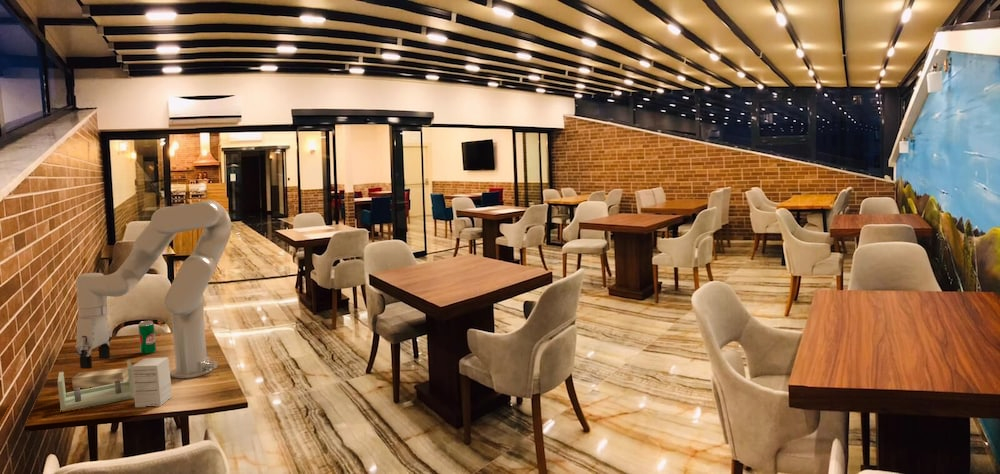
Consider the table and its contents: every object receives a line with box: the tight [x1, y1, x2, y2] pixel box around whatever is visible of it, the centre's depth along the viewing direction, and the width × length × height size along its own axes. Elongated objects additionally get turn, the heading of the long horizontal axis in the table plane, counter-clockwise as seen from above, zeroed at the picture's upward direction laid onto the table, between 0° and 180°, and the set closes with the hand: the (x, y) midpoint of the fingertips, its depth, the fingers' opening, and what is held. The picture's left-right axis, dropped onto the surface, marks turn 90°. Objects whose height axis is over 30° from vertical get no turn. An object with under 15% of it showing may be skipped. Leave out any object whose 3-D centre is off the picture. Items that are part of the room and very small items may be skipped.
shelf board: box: [71, 367, 129, 390], centre depth 183 cm, size 14×5×4 cm, turn 107°
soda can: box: [137, 320, 157, 355], centre depth 215 cm, size 5×5×12 cm
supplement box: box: [131, 356, 173, 408], centre depth 167 cm, size 7×7×13 cm
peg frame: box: [57, 359, 134, 411], centre depth 170 cm, size 18×12×9 cm, turn 126°
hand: (95, 363), depth 182 cm, fingers open, 9 cm apart
